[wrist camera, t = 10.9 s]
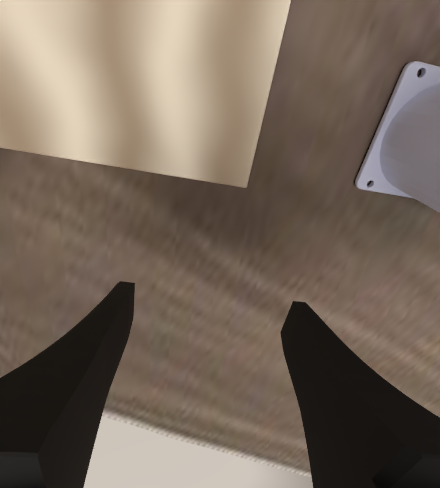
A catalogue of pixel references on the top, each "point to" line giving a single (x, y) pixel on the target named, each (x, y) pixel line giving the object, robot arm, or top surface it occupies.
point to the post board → (140, 82)
